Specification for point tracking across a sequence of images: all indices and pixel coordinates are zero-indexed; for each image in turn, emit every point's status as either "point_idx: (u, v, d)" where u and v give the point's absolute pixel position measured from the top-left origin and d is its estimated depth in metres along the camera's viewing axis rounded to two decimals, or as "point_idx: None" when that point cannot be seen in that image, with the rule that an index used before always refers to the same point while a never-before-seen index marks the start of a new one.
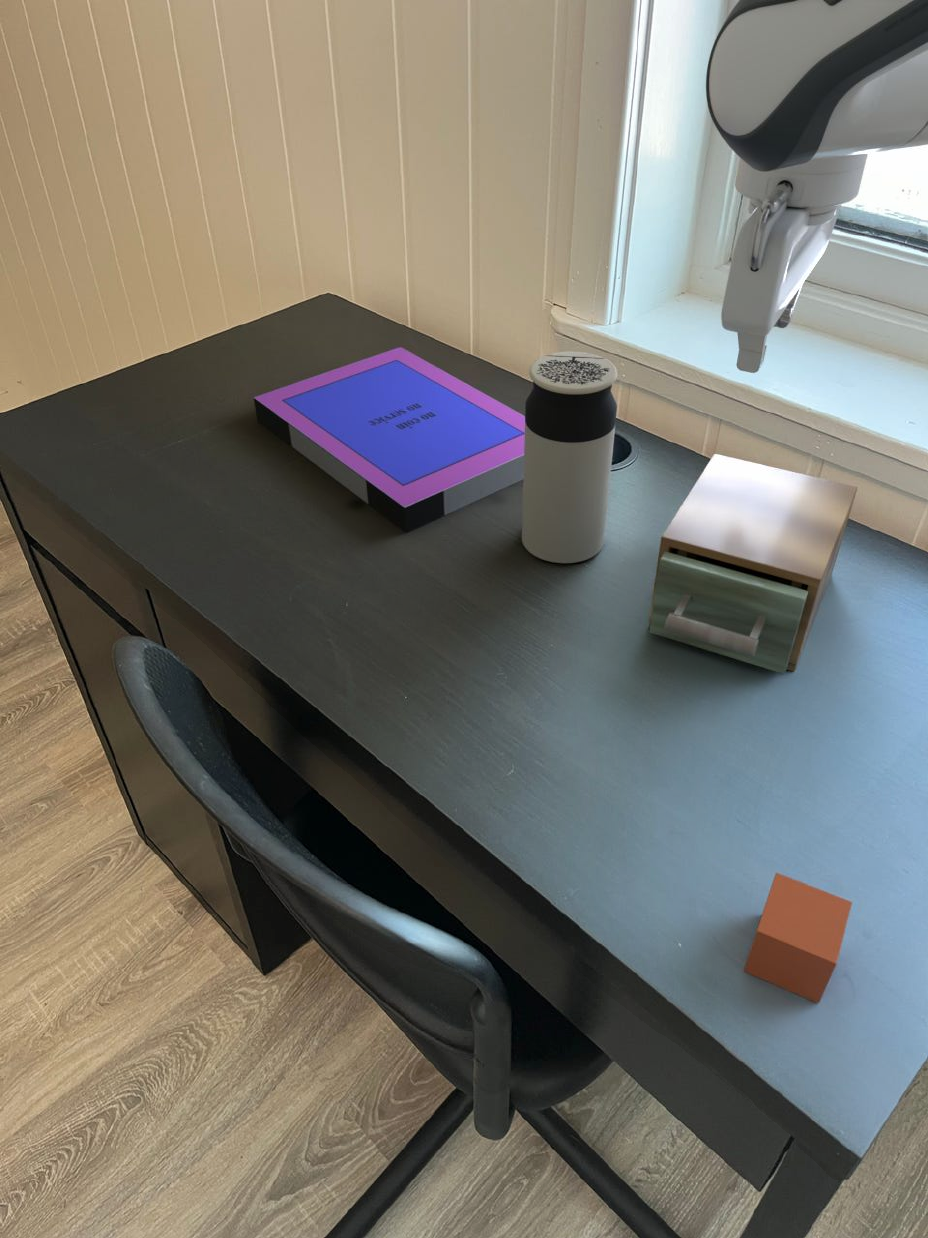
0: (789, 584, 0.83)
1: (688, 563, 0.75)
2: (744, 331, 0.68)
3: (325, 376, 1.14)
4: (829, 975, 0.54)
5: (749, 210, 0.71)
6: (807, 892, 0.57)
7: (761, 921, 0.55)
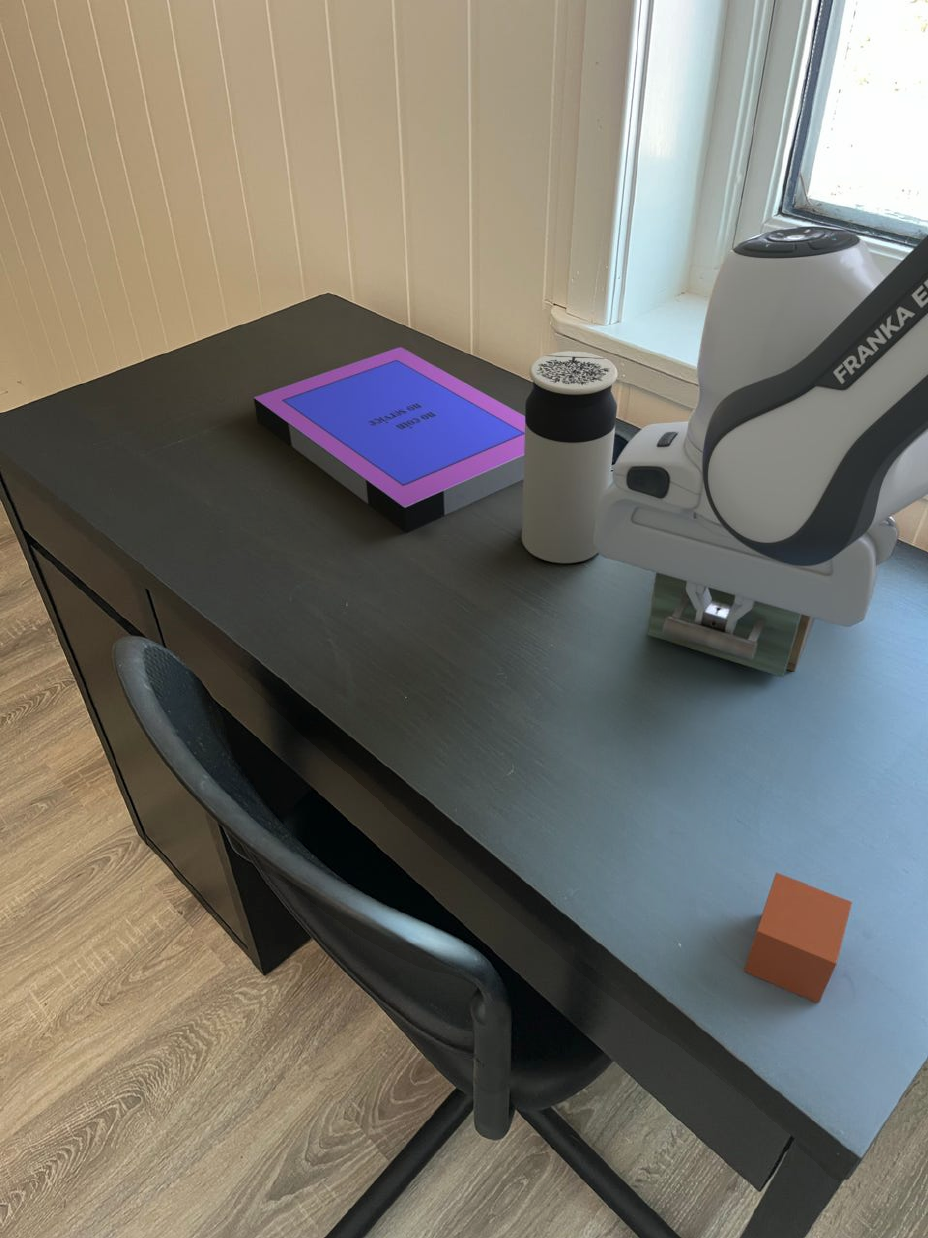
0: None
1: None
2: None
3: (325, 376, 1.14)
4: (829, 975, 0.54)
5: None
6: (807, 892, 0.57)
7: (761, 921, 0.55)
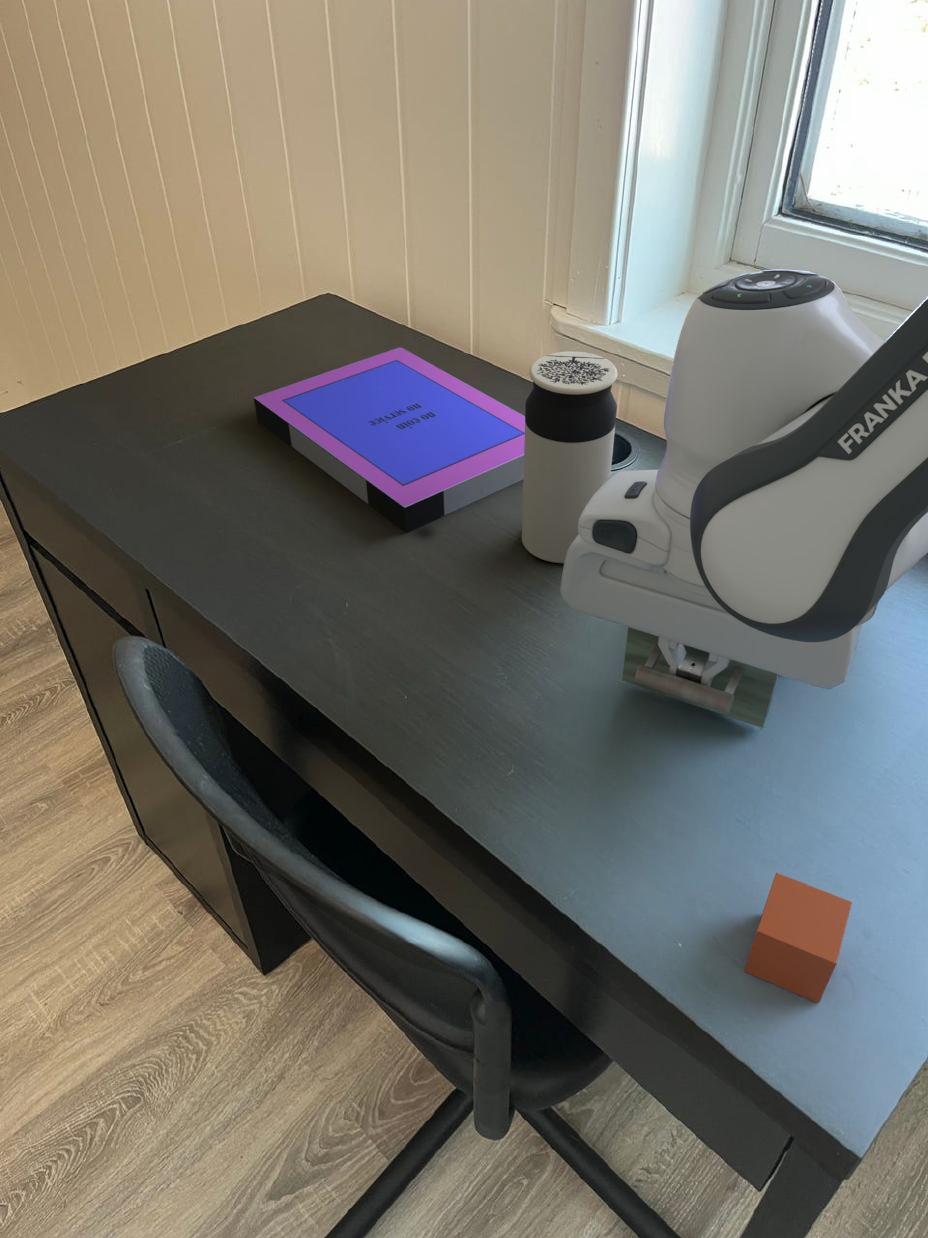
0: None
1: None
2: None
3: (325, 376, 1.14)
4: (829, 975, 0.54)
5: None
6: (807, 892, 0.57)
7: (761, 921, 0.55)
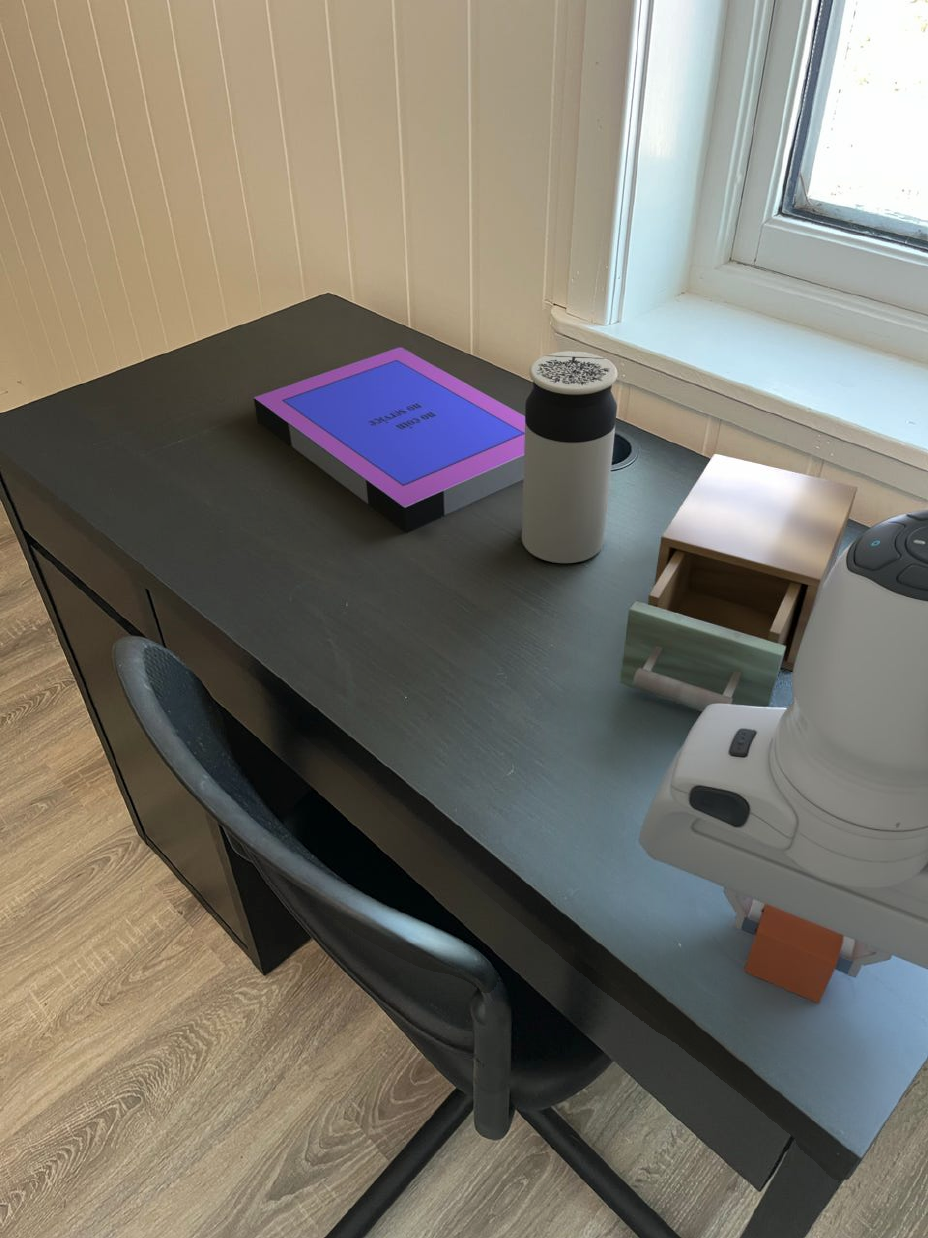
0: (769, 631, 0.78)
1: (658, 613, 0.70)
2: None
3: (325, 376, 1.14)
4: (829, 975, 0.54)
5: None
6: None
7: (761, 921, 0.55)
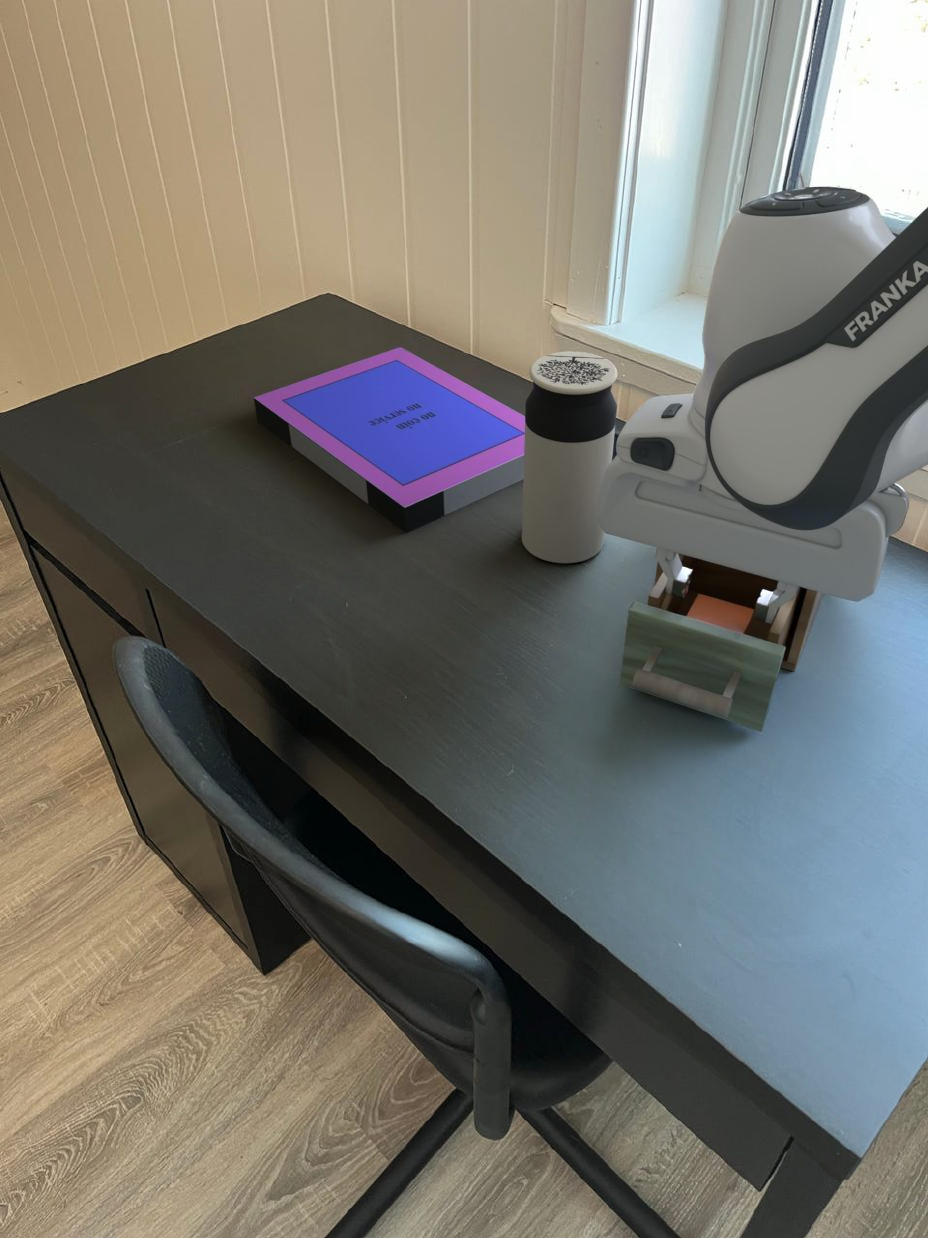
0: (769, 631, 0.78)
1: (658, 614, 0.70)
2: None
3: (325, 376, 1.14)
4: None
5: None
6: (721, 604, 0.74)
7: None
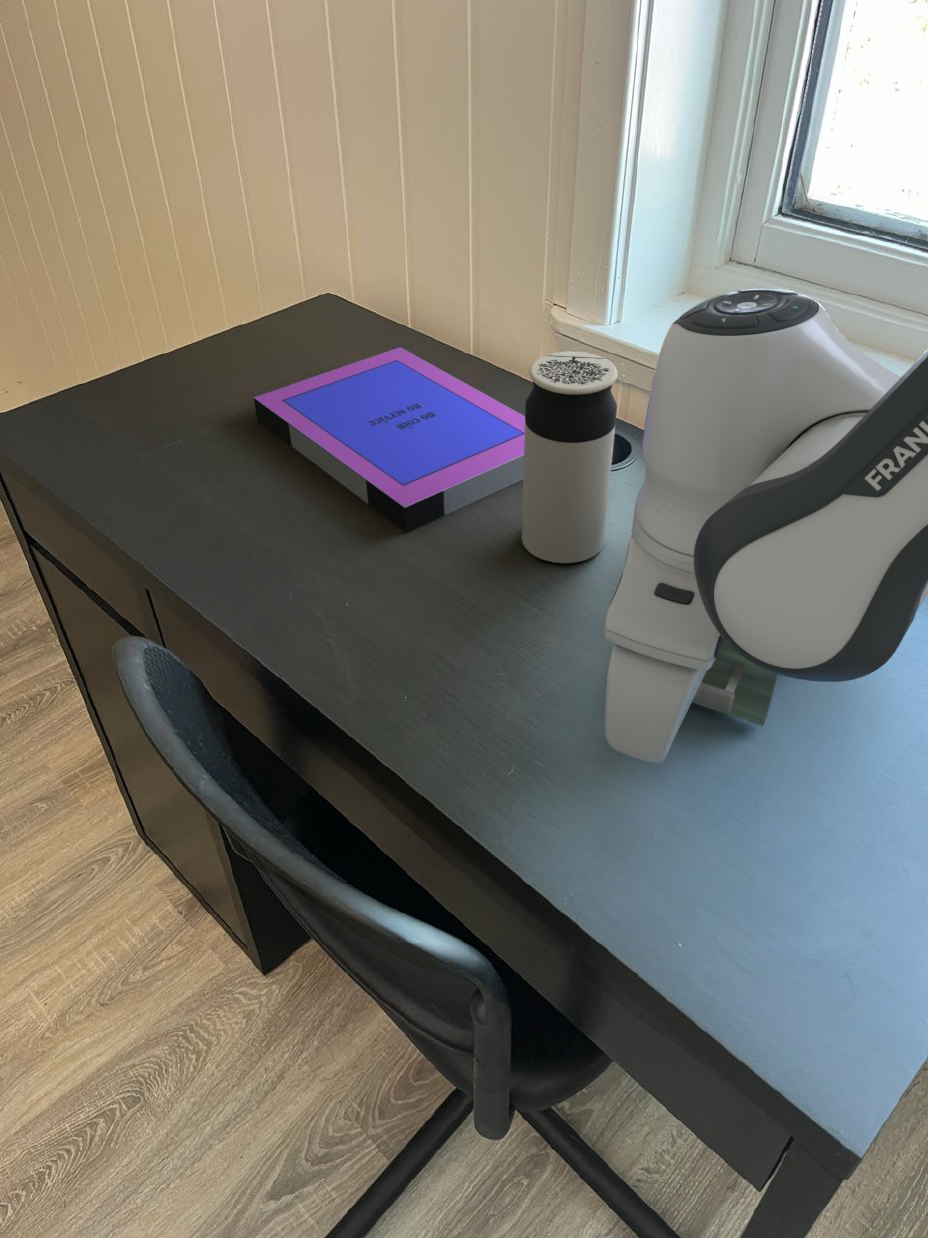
0: None
1: None
2: None
3: (325, 376, 1.14)
4: None
5: None
6: None
7: None
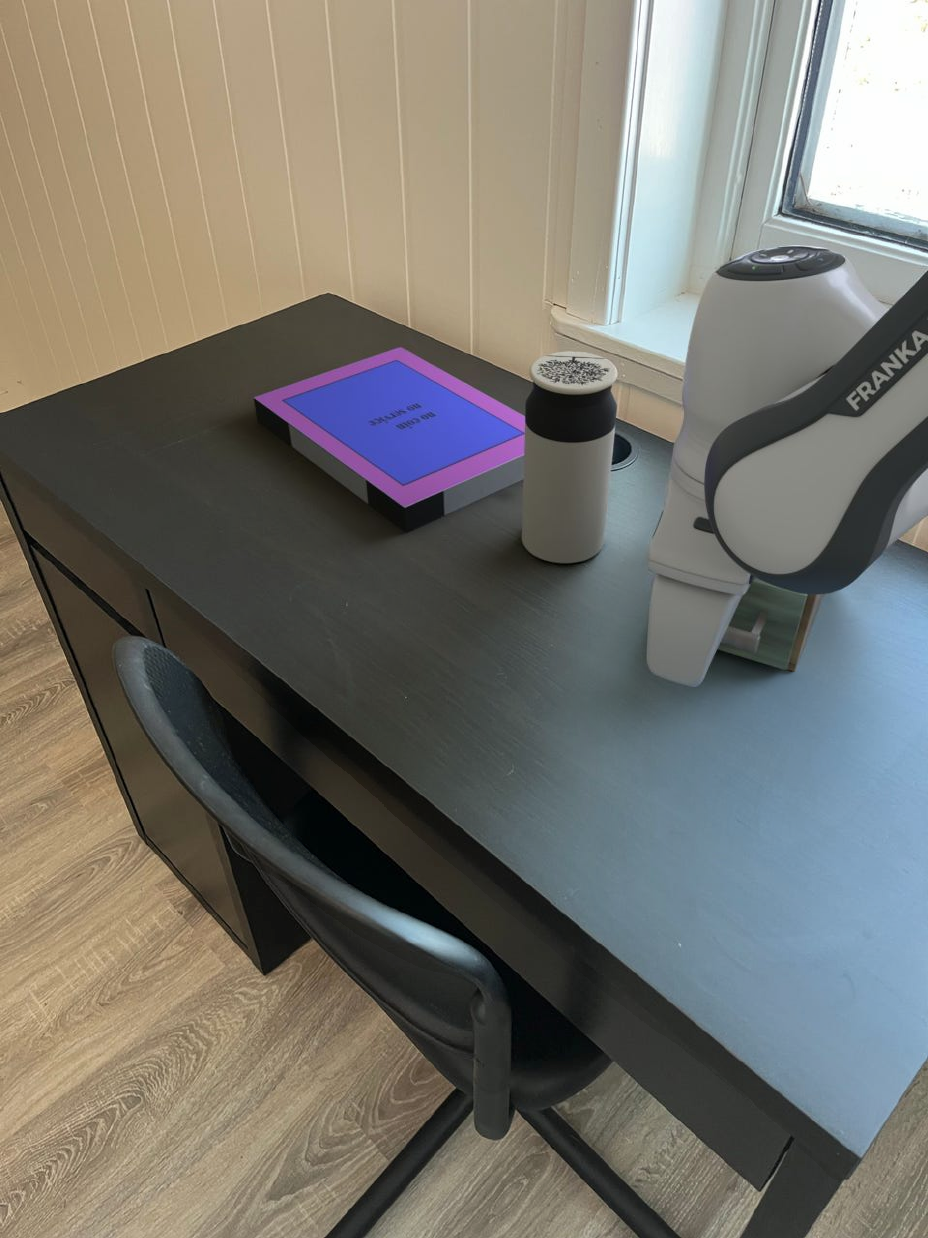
0: None
1: None
2: None
3: (325, 376, 1.14)
4: None
5: None
6: None
7: None
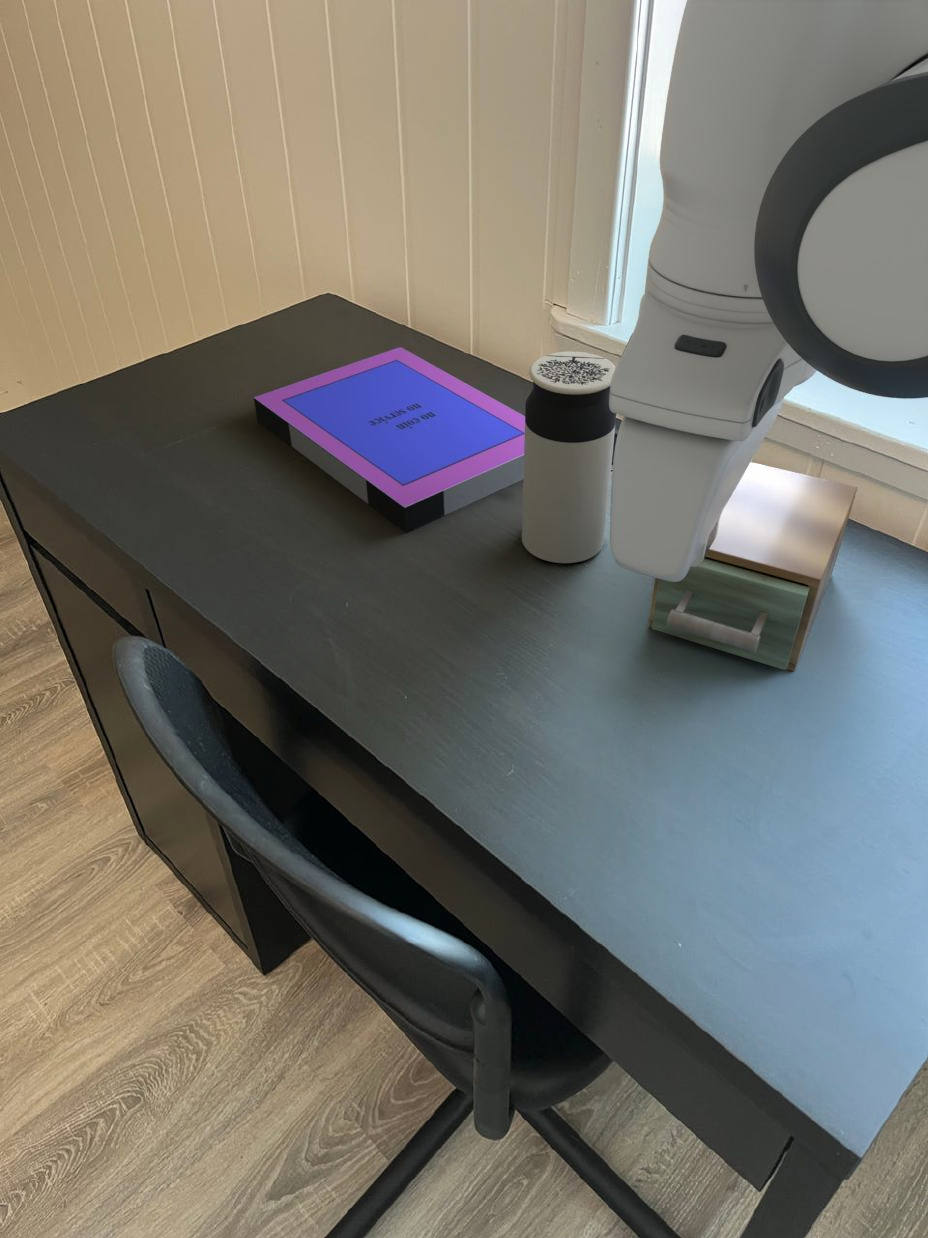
0: (790, 581, 0.83)
1: None
2: None
3: (325, 376, 1.14)
4: None
5: None
6: None
7: None
